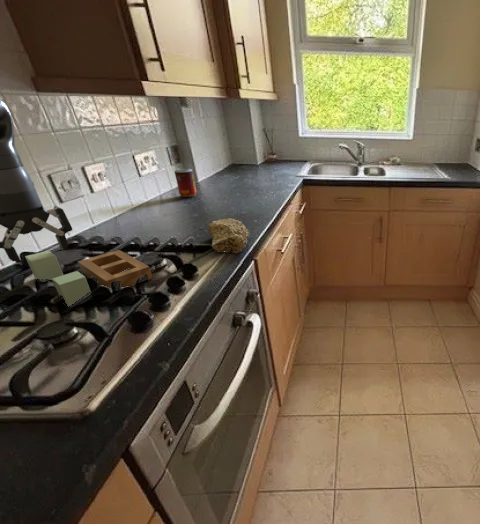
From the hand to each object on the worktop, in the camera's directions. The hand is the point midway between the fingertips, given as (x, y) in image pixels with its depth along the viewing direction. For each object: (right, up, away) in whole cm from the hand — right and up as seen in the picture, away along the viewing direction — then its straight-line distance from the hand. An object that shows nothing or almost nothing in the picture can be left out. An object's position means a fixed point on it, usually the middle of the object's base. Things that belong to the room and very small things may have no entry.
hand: (42, 255), depth 79 cm
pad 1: (0, -5, +2) cm, 6 cm away
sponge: (+34, +4, +25) cm, 43 cm away
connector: (+15, -5, +4) cm, 16 cm away
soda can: (-4, +29, +72) cm, 77 cm away
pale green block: (+14, -10, -6) cm, 19 cm away
